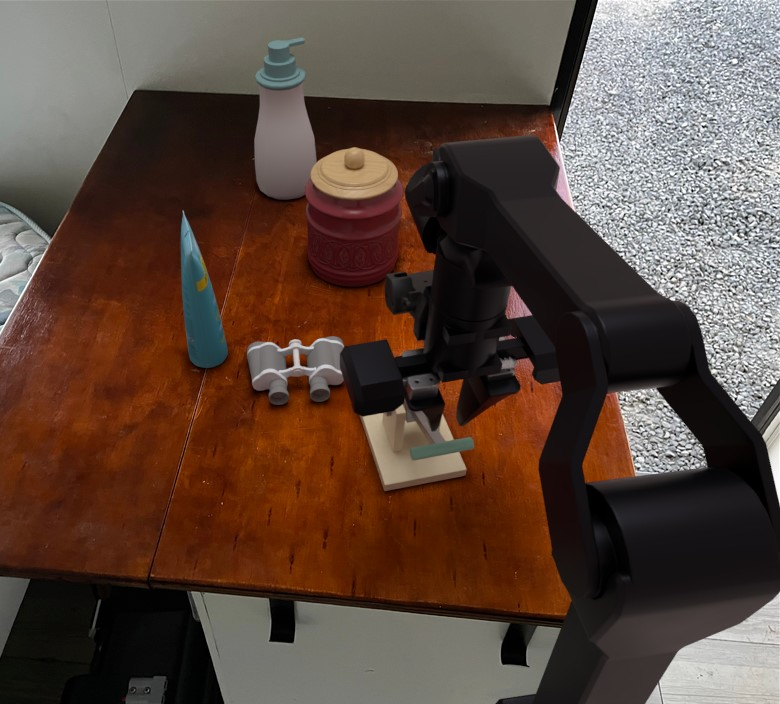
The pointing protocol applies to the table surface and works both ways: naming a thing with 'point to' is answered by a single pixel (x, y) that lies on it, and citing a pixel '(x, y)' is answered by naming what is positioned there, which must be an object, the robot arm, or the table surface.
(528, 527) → the table surface
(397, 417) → the toaster bracket
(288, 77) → the soap bottle
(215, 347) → the tube
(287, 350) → the binoculars
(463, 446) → the lever
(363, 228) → the kitchen canister
